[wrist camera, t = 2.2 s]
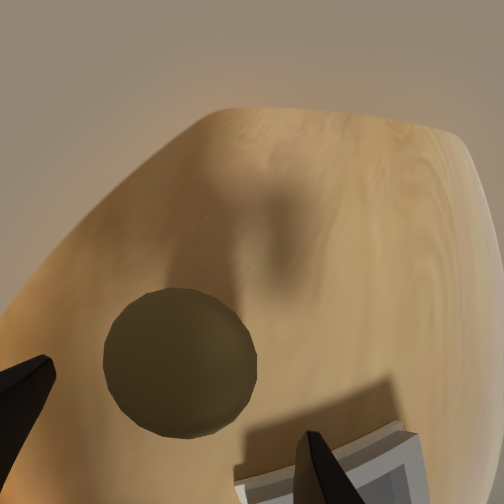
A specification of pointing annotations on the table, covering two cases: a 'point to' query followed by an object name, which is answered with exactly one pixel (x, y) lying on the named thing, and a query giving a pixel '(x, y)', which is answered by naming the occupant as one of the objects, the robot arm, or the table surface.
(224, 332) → the cork
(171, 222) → the table surface
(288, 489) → the socket plate
